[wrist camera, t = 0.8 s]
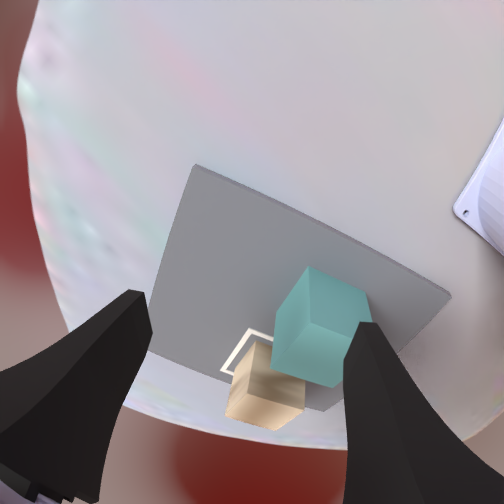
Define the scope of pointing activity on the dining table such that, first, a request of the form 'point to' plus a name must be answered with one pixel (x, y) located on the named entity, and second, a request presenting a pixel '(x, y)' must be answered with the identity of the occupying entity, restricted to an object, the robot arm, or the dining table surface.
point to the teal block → (317, 328)
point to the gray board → (264, 279)
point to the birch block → (264, 391)
